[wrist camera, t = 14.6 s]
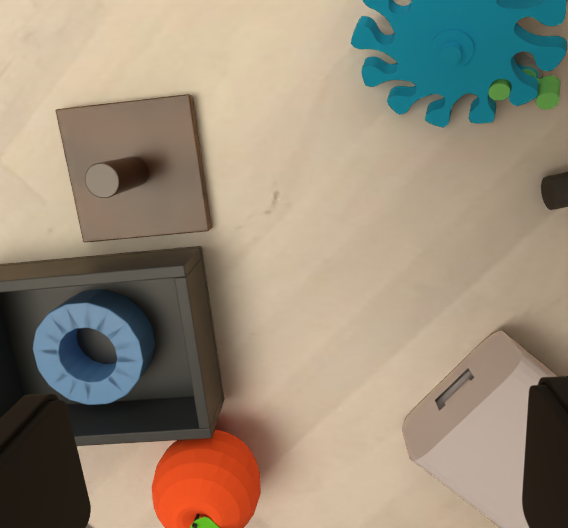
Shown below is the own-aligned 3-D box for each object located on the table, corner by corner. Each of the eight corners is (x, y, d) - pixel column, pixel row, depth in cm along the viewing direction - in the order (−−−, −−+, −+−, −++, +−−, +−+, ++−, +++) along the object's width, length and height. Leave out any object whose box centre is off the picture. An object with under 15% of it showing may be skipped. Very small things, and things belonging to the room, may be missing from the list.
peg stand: (61, 109, 31) (8, 107, 26) (192, 94, 30) (165, 89, 25) (88, 240, 33) (44, 263, 28) (211, 228, 32) (190, 249, 27)
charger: (555, 542, 37) (399, 421, 35) (659, 459, 35) (497, 325, 33) (589, 602, 33) (411, 466, 31) (711, 510, 30) (526, 358, 28)
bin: (-15, 265, 34) (-63, 286, 30) (201, 245, 33) (184, 264, 28) (24, 412, 37) (-14, 451, 32) (224, 399, 36) (212, 438, 31)
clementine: (297, 455, 36) (293, 533, 29) (239, 517, 38) (222, 605, 31) (205, 390, 35) (179, 455, 29) (149, 457, 37) (112, 533, 30)
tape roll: (43, 294, 34) (21, 307, 31) (145, 285, 33) (131, 299, 31) (65, 387, 35) (46, 408, 33) (162, 381, 35) (150, 401, 32)
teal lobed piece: (314, 70, 28) (433, -109, 19) (342, 6, 31) (456, -174, 22) (475, 170, 30) (643, 51, 22) (487, 103, 33) (640, -26, 25)
